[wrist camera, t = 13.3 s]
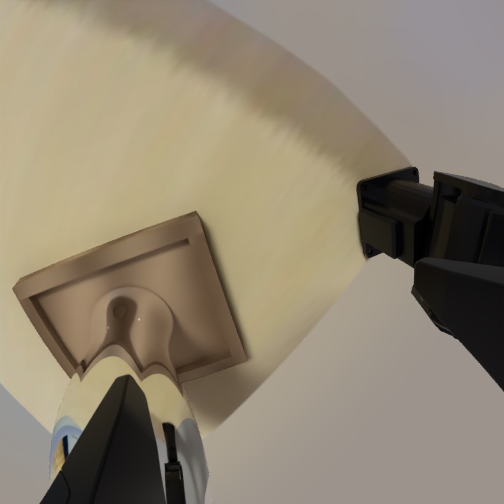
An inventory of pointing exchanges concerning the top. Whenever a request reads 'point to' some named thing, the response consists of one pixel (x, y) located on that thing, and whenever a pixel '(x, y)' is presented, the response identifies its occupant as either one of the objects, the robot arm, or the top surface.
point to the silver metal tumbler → (150, 381)
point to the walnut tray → (142, 276)
